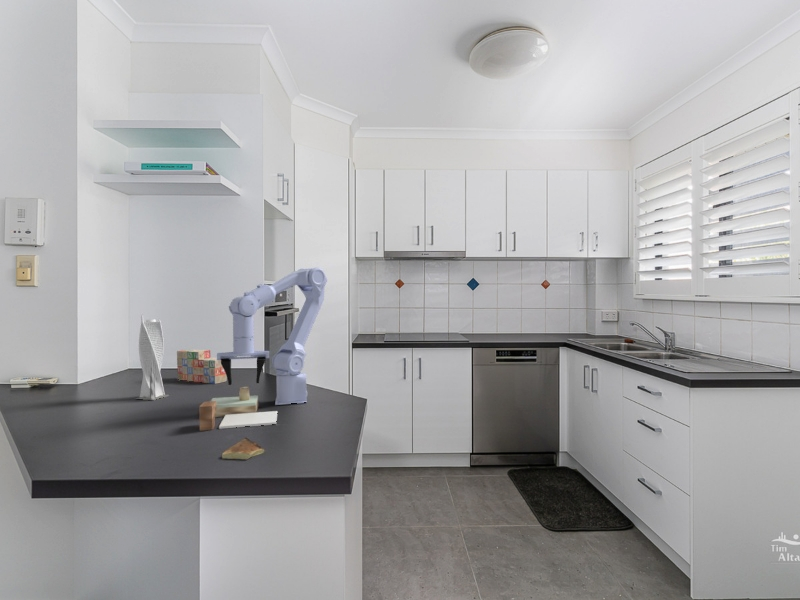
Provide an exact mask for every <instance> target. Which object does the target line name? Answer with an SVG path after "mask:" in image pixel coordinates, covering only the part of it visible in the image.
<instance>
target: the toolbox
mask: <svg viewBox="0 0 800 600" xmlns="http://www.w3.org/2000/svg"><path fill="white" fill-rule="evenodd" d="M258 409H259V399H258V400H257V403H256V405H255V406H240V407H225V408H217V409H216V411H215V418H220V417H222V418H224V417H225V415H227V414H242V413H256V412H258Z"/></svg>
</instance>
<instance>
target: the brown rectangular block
mask: <svg viewBox="0 0 800 600" xmlns="http://www.w3.org/2000/svg"><path fill="white" fill-rule="evenodd" d="M198 409H199V410H198V411H199V414H198V415H199V418H198V419H199V431H201V432H202V431H212V430H214V428H215V426H216V417H215V411H216V409H217V402H216V401H211V400H209V401H206V400H205V401H203V403H201V404H200V405H199V407H198Z"/></svg>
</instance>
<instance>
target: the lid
mask: <svg viewBox="0 0 800 600" xmlns="http://www.w3.org/2000/svg"><path fill="white" fill-rule="evenodd" d="M238 390H239V392H238V393H239V395H238V396H224V397H213V398H211V400H210V401H216V402H217V408H225V407H240V406H255V405H256V403H257V400H258V401H259V395H258V394H256V395H250V386H241V387H239V388H238Z"/></svg>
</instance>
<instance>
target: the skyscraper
mask: <svg viewBox="0 0 800 600" xmlns="http://www.w3.org/2000/svg"><path fill="white" fill-rule="evenodd" d="M140 316H141V317H140V318H141V323H140V329H139V338H138V354H139V361H140V366H141V369H142V374H143V375H142V381H141V387H140V394H139V397H136V398H135V399H143V400H142V401H148V400H154V401H156V399H157V400H160V399H159V398H161V399H163V397H164V398H168V397H169V396H170V395H169V394H166V393H165V388H164V385H163V383H164V382H163V379H162V375H161V369H162V366H163V360H164V353H165V339H164V331H163V326H162V320H161V319H160V318H159V319H158V320H156V318H146V319H145V321H144V315H143V314H141V315H140Z"/></svg>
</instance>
